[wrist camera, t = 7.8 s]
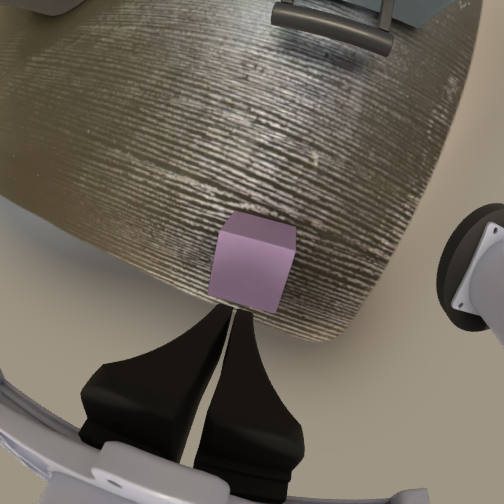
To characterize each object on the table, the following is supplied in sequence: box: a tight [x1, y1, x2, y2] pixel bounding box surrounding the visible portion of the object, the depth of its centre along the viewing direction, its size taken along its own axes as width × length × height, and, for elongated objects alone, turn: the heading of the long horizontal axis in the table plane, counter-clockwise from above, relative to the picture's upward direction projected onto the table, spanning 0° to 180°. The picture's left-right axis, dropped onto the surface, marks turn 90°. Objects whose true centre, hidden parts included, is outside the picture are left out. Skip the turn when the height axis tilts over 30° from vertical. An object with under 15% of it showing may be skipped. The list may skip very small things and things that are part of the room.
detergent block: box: [207, 211, 296, 313], centre depth 19 cm, size 4×4×4 cm
